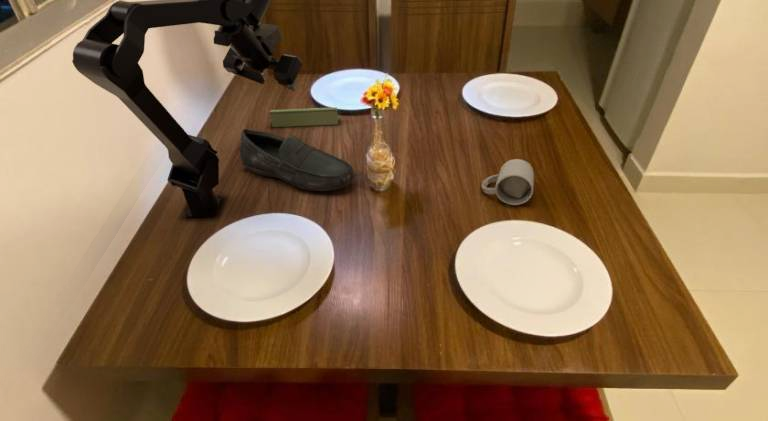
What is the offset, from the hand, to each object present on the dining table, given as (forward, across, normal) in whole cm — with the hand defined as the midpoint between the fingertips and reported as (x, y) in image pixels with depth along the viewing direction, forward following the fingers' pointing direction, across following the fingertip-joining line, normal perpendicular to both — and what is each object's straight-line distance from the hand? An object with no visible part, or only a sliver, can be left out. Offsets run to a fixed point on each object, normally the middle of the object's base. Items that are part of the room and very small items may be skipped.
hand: (278, 85), depth 107 cm
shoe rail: (+17, 0, +1) cm, 17 cm away
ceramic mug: (+13, -58, +8) cm, 60 cm away
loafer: (+6, -12, +19) cm, 23 cm away
